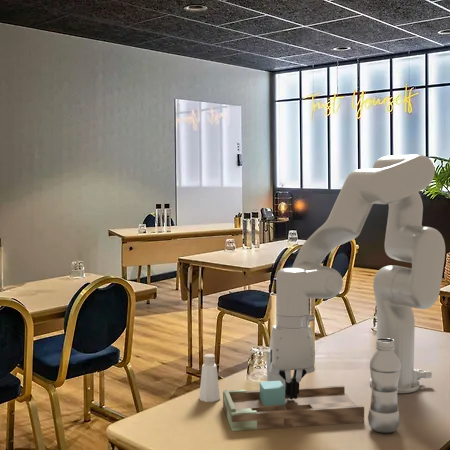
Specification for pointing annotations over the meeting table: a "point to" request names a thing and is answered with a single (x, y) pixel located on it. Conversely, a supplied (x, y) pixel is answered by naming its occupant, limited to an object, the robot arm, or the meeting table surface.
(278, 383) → the block
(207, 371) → the salt shaker
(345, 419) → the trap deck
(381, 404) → the plastic bottle
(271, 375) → the small box
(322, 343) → the meeting table surface
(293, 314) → the robot arm
